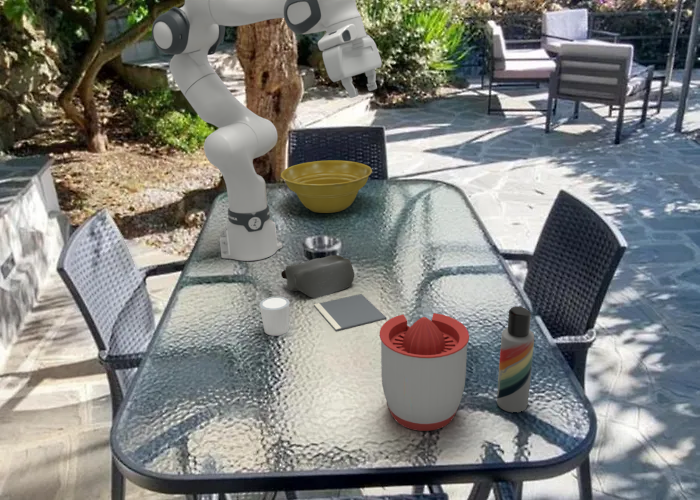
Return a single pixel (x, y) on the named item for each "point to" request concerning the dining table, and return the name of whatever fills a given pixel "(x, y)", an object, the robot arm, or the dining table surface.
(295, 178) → the planter bowl
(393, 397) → the citrus juicer
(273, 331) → the shot glass
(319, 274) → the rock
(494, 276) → the dining table surface
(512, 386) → the lotion bottle
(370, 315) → the mat
